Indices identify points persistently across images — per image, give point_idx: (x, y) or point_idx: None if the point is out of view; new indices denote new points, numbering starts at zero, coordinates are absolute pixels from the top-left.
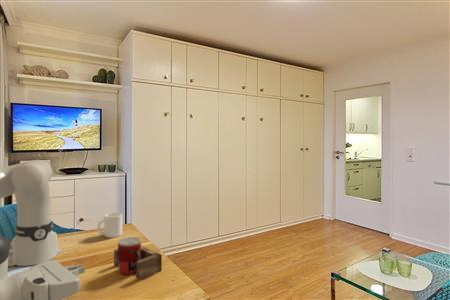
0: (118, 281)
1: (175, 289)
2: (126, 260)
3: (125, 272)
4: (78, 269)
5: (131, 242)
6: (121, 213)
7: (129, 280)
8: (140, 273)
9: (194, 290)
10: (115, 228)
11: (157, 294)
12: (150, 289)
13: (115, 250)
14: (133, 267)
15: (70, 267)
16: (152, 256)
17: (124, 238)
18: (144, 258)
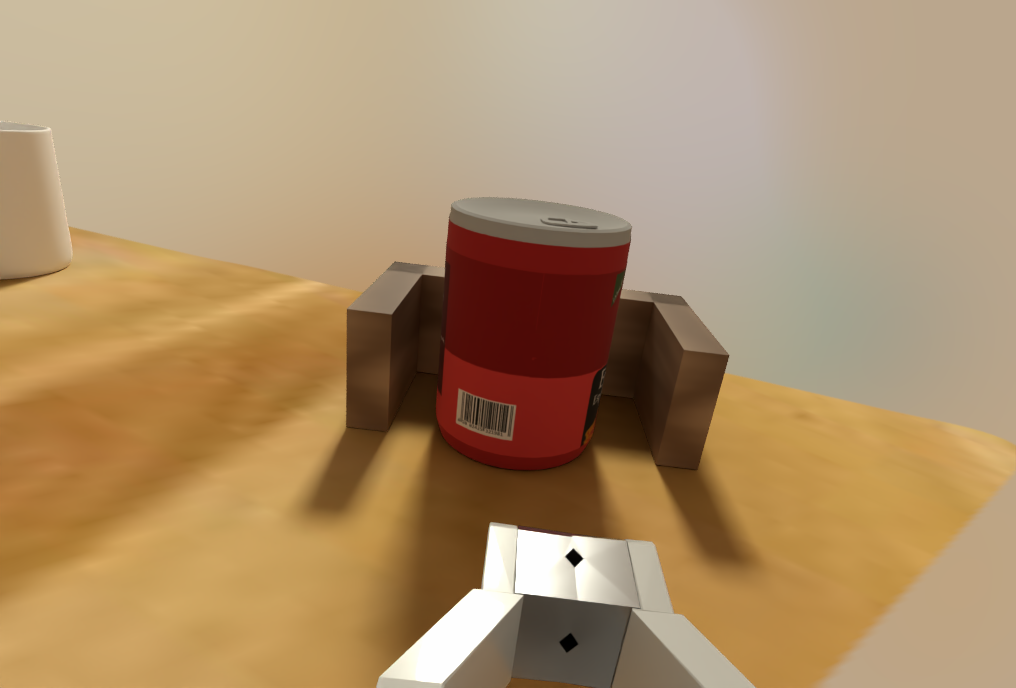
0: (606, 527)
1: (922, 457)
2: (586, 360)
3: (566, 448)
4: (682, 626)
5: (572, 222)
6: (31, 124)
7: (649, 492)
8: (706, 425)
9: (968, 435)
10: (34, 215)
11: (952, 517)
12: (861, 502)
13: (368, 311)
14: (599, 401)
15: (468, 663)
16: (674, 310)
17: (460, 202)
18: (672, 326)
